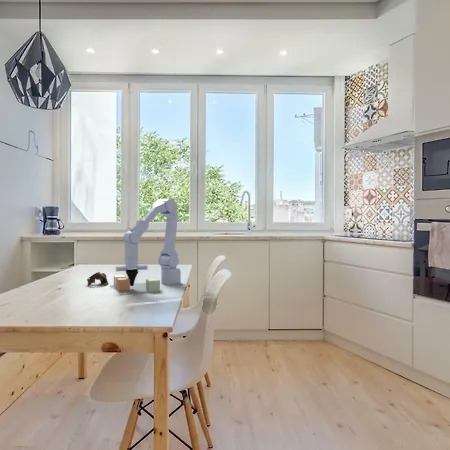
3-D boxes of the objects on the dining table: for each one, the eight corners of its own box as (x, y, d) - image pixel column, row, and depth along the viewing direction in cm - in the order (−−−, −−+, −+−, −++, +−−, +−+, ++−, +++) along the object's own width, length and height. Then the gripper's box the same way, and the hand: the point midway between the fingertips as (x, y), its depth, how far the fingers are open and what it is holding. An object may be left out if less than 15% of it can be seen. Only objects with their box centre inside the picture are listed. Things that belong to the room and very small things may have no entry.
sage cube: (156, 289, 175) (156, 278, 175) (159, 291, 171) (160, 280, 171) (146, 290, 173) (146, 279, 173) (149, 292, 168) (149, 281, 168)
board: (147, 284, 193) (147, 282, 193) (164, 293, 170) (164, 291, 170) (109, 287, 184) (109, 285, 184) (121, 297, 161) (121, 295, 161)
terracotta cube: (127, 288, 178) (127, 277, 178) (129, 289, 173) (129, 279, 173) (116, 289, 175) (116, 278, 175) (118, 290, 171) (118, 279, 171)
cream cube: (124, 285, 186) (124, 274, 186) (126, 286, 182) (126, 276, 181) (113, 285, 184) (113, 275, 184) (115, 287, 179) (115, 277, 179)
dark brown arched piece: (106, 289, 183) (97, 275, 181) (90, 297, 184) (81, 283, 183) (114, 279, 194) (106, 265, 192) (99, 286, 196) (91, 273, 194)
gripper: (117, 258, 169) (117, 288, 169) (149, 256, 176) (149, 285, 176) (114, 256, 175) (114, 285, 176) (145, 255, 182) (145, 283, 182)
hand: (131, 285), depth 176 cm, fingers closed
